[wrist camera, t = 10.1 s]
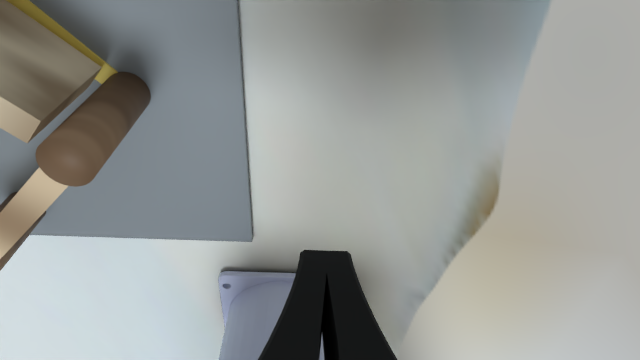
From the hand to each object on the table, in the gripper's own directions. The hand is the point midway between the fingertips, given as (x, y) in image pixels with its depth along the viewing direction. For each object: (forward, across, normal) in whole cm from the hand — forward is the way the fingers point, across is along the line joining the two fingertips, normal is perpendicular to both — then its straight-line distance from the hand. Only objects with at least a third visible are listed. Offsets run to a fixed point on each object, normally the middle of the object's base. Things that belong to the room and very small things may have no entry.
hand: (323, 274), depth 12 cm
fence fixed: (+10, +13, +3) cm, 16 cm away
